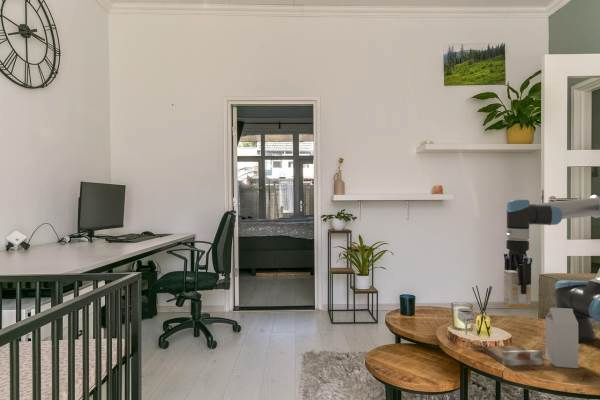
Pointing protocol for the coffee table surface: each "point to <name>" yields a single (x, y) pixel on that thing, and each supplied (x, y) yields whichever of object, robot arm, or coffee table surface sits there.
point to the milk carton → (562, 338)
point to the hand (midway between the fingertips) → (516, 300)
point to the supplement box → (514, 289)
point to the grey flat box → (514, 355)
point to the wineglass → (466, 316)
